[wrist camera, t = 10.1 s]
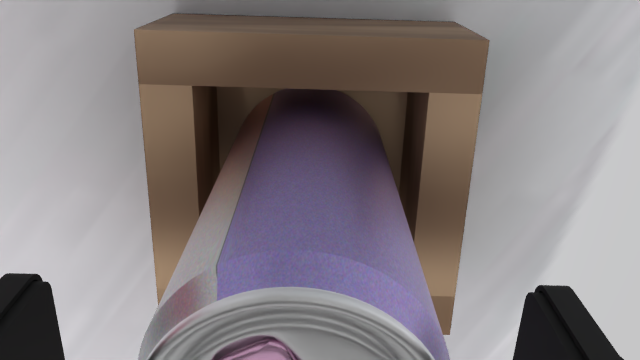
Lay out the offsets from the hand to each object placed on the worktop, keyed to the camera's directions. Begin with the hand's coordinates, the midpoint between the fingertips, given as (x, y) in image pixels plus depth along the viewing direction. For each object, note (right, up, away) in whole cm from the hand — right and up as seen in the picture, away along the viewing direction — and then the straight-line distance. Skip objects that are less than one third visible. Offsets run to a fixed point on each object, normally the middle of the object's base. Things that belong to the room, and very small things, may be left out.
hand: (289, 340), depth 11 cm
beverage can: (0, +4, +13) cm, 13 cm away
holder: (0, +4, +13) cm, 14 cm away
